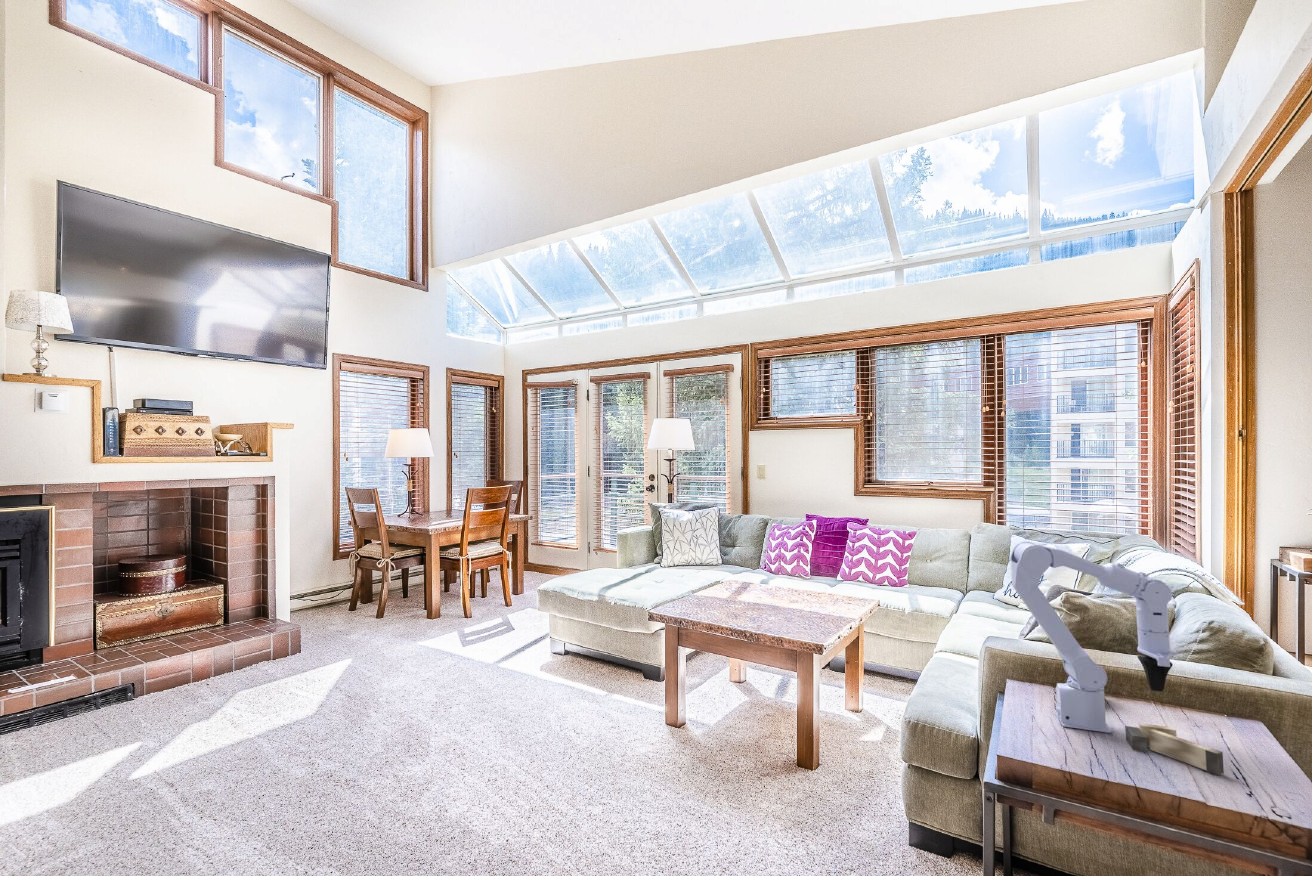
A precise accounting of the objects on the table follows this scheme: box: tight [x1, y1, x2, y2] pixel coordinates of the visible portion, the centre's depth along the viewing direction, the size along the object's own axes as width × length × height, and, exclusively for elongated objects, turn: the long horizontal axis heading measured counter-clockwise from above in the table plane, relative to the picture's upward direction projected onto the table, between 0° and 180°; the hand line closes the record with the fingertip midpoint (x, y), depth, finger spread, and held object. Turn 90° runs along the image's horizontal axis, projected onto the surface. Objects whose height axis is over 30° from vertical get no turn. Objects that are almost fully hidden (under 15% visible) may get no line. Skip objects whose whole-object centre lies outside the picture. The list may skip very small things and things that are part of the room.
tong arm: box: [1149, 729, 1225, 776], centre depth 125 cm, size 12×2×4 cm, turn 21°
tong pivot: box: [1124, 722, 1177, 753], centre depth 132 cm, size 8×6×4 cm, turn 65°
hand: (1156, 690), depth 141 cm, fingers closed
